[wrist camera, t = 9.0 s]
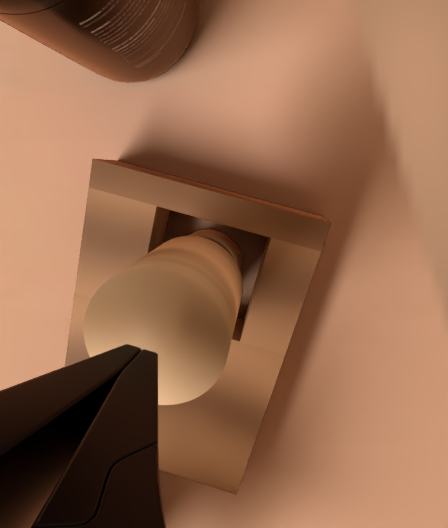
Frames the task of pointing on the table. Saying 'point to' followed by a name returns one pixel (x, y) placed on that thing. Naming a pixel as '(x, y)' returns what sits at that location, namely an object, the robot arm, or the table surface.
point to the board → (246, 331)
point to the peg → (173, 311)
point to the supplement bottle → (109, 32)
